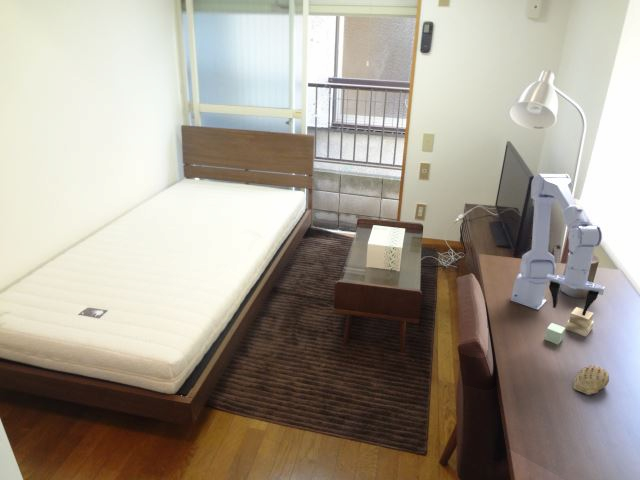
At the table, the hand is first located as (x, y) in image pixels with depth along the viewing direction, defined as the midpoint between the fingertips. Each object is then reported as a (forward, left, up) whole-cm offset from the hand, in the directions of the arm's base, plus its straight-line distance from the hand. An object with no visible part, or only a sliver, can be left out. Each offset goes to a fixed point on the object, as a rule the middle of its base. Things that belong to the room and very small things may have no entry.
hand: (569, 310), depth 140 cm
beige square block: (+2, +11, -8) cm, 14 cm away
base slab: (+2, +11, -11) cm, 16 cm away
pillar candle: (-6, +35, -11) cm, 37 cm away
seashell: (+12, -16, -11) cm, 23 cm away
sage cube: (-2, 0, -11) cm, 11 cm away
